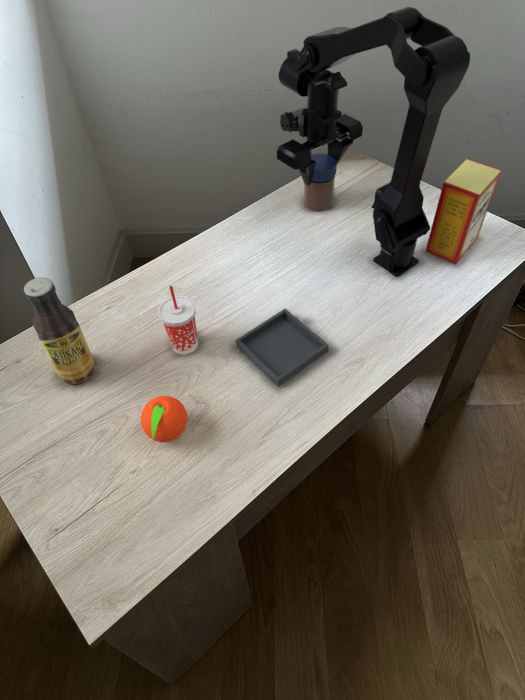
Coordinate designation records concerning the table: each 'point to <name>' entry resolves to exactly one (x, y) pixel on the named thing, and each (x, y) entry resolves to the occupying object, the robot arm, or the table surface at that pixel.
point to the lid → (323, 167)
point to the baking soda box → (462, 210)
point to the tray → (281, 347)
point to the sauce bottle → (59, 332)
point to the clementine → (164, 418)
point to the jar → (319, 195)
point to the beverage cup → (179, 322)
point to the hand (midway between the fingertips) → (318, 178)
